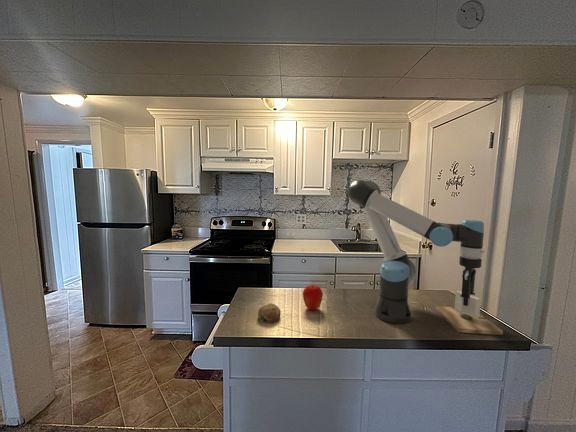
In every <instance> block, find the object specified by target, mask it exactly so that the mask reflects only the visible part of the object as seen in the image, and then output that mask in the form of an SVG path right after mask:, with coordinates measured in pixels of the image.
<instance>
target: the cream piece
mask: <svg viewBox="0 0 576 432" xmlns="http://www.w3.org/2000/svg"><path fill="white" fill-rule="evenodd" d="M460 295H462V290H457V291H456V290H455V298H454V307H455V309H456V310H458V311H460V312H461V310H462V297H460ZM481 300H482V298H479V297H477V296H475V295H473V296H472V294H471V295H470V312H469V314H468V313H465V312H461V317H462V318H463V319H467V320H471V319H472V317H473V318H479V314H481V312H480V310H481Z"/></svg>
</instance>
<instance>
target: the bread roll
mask: <svg viewBox="0 0 576 432" xmlns="http://www.w3.org/2000/svg"><path fill="white" fill-rule="evenodd" d="M257 316H258V320H259V321H260V323H264V322H265V324H275V323H277V322H279V321H280V319H281V309H280V307H279V306H278V305H276V304H274V303H268V304H264V305H261V306H260V308H259V309H258V311H257Z"/></svg>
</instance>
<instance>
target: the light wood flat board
mask: <svg viewBox="0 0 576 432" xmlns="http://www.w3.org/2000/svg"><path fill="white" fill-rule="evenodd" d="M435 310H436V312H437V313H439V315H441V316H442V318H443V319H445V320H446V321H447V322H448V323H449V324H450V325H451V326H452V327H453V328H454V329H455V331H457V332H458V333H467V334H479V335H480V334H484V335H496V336H497V335H499V336H503V335H504V331H503V330H502V329H501V328H499V327H498V326H496V325H495V324H494V323H493V322H491V321H490V320H489V319H487V318H486V317H485V316H483V315H482V314H481V313H480V314H479V318H473V317H472V319H471V320H467V319H463V318H462V317H461V312H460V311H458V310H456V309H455V306H443V305H442V306H441V305H439V306H438V305H437V306H436V305H435Z"/></svg>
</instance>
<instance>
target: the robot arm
mask: <svg viewBox="0 0 576 432" xmlns="http://www.w3.org/2000/svg"><path fill="white" fill-rule="evenodd" d="M381 193H382V191H381V187H380V186H379V184H377V182H375V181H372V180H364V179H358V180H355V181H353V182H352V183H351V184H350V185H349V187H348V189H347V195H348V198H349V200H350V201H351V202H352V203H354V204H356V205H358V206H359V209H360V211H362V212H364V213H365V215H366V218H367V220H368V222H369V224H370V227H371V229H372V231H373V233H374V236H375V238H376V240H377V242H378V243H377V244H378V246H379V247H380V251H381V252H382V255H383V256H384V257H383V259H382V264H381V265H380V269H379V296H378V299H377V301H376V303H375V307H374V315H375V316H376V317H377V318H378V319H380V320H382V321H385V322H388V323H390V324H392V323H393V324H397V325H398V324H400V325H401V324H407V323H409V322H411V321H412V311H411V308H410V304H409V285H410V283H411V282H412V281H413V280H414V278H415V277H416V271H417V270H416V266H415V263H413V261H412V260H411V259H410V258H409V256H408V254H407V252H405V251H403V250H402V248H401V246H400V243H399V242H398V239H397V237H396V235H395V233H394V230H393V228H392V226H391V224H390V221H389V219H390V220H392V222H395V223H397V224H399V225H400V226H403V227H405V228H406V229H408V230H409V231H412V232H415V233H416V234H418V235H419V236H421V237H423V238H425V239H426V240H428V241H430V242H431V243H432V245H435V246H437V247H440V248H441V247H443V248H444V247H447V246H448V245H450V244H451V243H452V242H457V243H460V247H459V255H460V256H459V265H460V266H461V267H464V269H463V271H462V275H461V278H462V283H461V284H462V285H461V291H462V295H460V297H462V310H461V312H465V313H468V314H469V312H470V295H472V296H475V295H476V293H475V292H474V291H475V283H476V282H475V280H476V273H477V270H476V269H480V268H482V260H483V259H482V258H483V257H482V255H483V254H484V253H485V251H484V250H483V246H484V236H485V222H483V221H482V220H477V219H475V220H474V219H463V220H462V222H461V223H458V224H457V223H443V222H437V221H434V220H432V219H431V218H429V217H426V216H424V215H423V214H420V213H418V212H416V211H414V210H413V209H410V208H408V207H407V206H404V205H402V204H400V203H399V202H397V201H395V200H393V199H390V198H389V197H386V196H384V195H382V194H381Z"/></svg>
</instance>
